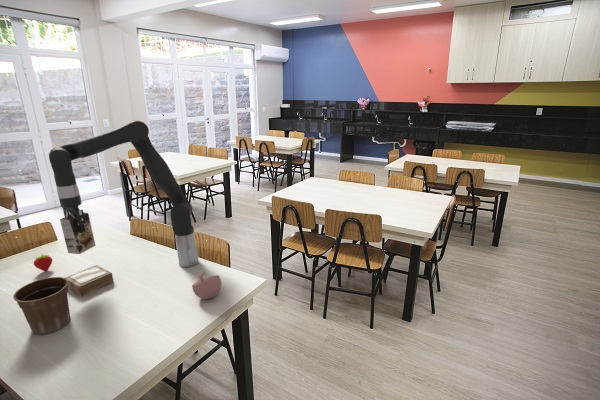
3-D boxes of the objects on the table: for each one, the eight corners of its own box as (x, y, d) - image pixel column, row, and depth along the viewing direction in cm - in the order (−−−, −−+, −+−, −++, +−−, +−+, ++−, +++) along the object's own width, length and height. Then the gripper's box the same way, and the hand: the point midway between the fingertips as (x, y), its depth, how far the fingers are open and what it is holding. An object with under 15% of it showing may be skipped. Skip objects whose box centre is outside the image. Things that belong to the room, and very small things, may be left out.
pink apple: (213, 285, 150) (211, 263, 147) (227, 296, 142) (225, 273, 139) (188, 296, 142) (185, 273, 139) (202, 308, 134) (199, 284, 131)
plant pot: (87, 315, 131) (78, 280, 126) (45, 343, 116) (33, 305, 111) (58, 308, 136) (48, 273, 131) (14, 333, 122) (2, 296, 117)
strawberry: (35, 271, 165) (30, 253, 162) (53, 266, 170) (48, 248, 167) (37, 276, 161) (32, 257, 158) (56, 270, 166) (51, 252, 163)
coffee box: (80, 254, 142) (71, 219, 137) (67, 253, 143) (58, 219, 138) (96, 245, 151) (88, 212, 146) (84, 244, 152) (76, 211, 147)
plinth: (113, 282, 154) (111, 272, 153) (81, 296, 143) (79, 286, 142) (98, 273, 162) (96, 264, 160) (67, 287, 151) (64, 277, 149)
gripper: (86, 195, 138) (94, 230, 143) (71, 190, 146) (79, 224, 151) (66, 199, 132) (76, 236, 137) (51, 194, 140) (61, 229, 145)
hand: (77, 230), depth 144 cm, fingers closed on coffee box, 8 cm apart
